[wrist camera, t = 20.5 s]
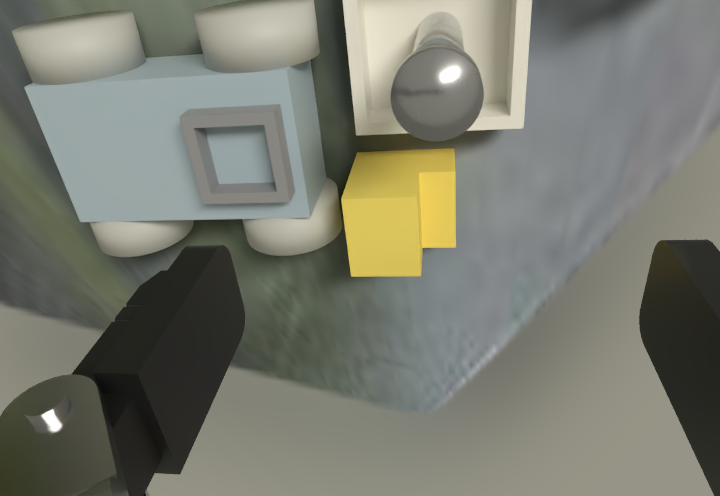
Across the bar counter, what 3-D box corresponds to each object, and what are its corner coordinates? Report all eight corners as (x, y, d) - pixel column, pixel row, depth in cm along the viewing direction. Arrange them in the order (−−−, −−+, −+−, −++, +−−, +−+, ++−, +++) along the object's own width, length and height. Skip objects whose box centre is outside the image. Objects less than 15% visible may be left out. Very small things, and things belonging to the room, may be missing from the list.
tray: (362, 117, 33) (356, 135, 30) (347, -52, 28) (337, -48, 26) (516, 110, 31) (523, 128, 29) (527, -70, 27) (536, -67, 24)
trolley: (127, 211, 39) (69, 268, 33) (56, 15, 32) (-34, 42, 26) (348, 206, 36) (329, 267, 30) (323, -8, 29) (292, 16, 23)
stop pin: (409, 69, 30) (393, 143, 21) (406, 3, 29) (387, 53, 19) (471, 65, 30) (482, 139, 21) (472, -2, 28) (485, 46, 19)
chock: (364, 221, 37) (351, 276, 31) (357, 151, 34) (341, 199, 29) (454, 219, 36) (456, 275, 30) (454, 147, 33) (456, 195, 28)
